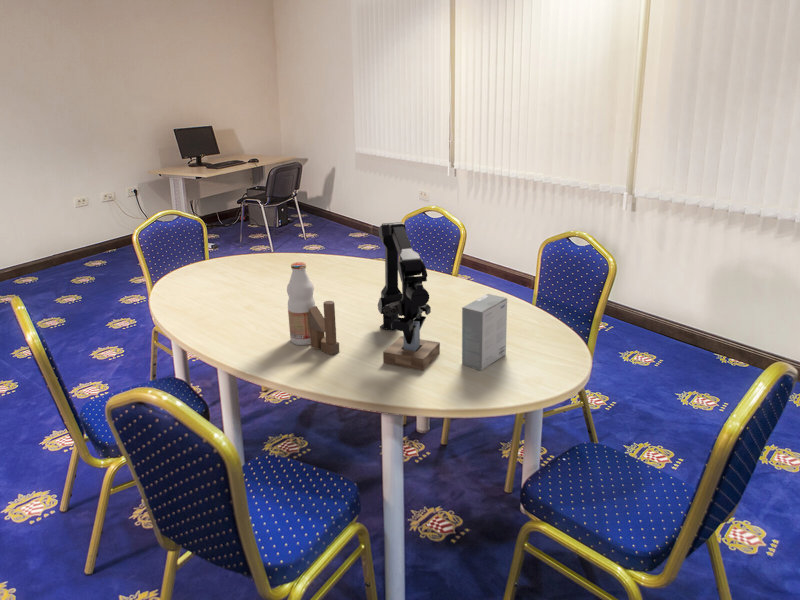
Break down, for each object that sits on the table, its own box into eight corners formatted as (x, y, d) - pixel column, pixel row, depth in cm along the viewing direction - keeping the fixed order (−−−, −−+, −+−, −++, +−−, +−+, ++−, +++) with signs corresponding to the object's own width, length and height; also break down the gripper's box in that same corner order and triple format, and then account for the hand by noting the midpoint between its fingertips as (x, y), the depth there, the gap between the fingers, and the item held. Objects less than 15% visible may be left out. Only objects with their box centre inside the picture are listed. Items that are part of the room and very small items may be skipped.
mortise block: (401, 346, 215) (401, 335, 214) (439, 353, 210) (439, 342, 208) (383, 363, 203) (383, 351, 202) (423, 370, 198) (423, 359, 196)
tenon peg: (408, 345, 208) (408, 319, 205) (419, 347, 206) (419, 321, 203) (403, 349, 205) (403, 324, 201) (415, 351, 203) (414, 325, 200)
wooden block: (318, 343, 219) (315, 295, 213) (339, 352, 212) (337, 302, 206) (310, 347, 216) (307, 297, 210) (331, 355, 209) (328, 305, 203)
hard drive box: (486, 348, 213) (488, 293, 206) (506, 354, 208) (509, 297, 201) (460, 364, 201) (461, 306, 195) (481, 371, 197) (482, 311, 190)
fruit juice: (291, 347, 217) (285, 269, 207) (289, 336, 225) (283, 261, 216) (319, 343, 219) (314, 266, 209) (315, 333, 227) (310, 259, 218)
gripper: (400, 284, 210) (400, 327, 216) (375, 302, 194) (376, 348, 200) (431, 288, 206) (431, 332, 211) (408, 306, 190) (408, 354, 195)
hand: (411, 341), depth 205 cm, fingers closed on tenon peg, 4 cm apart
